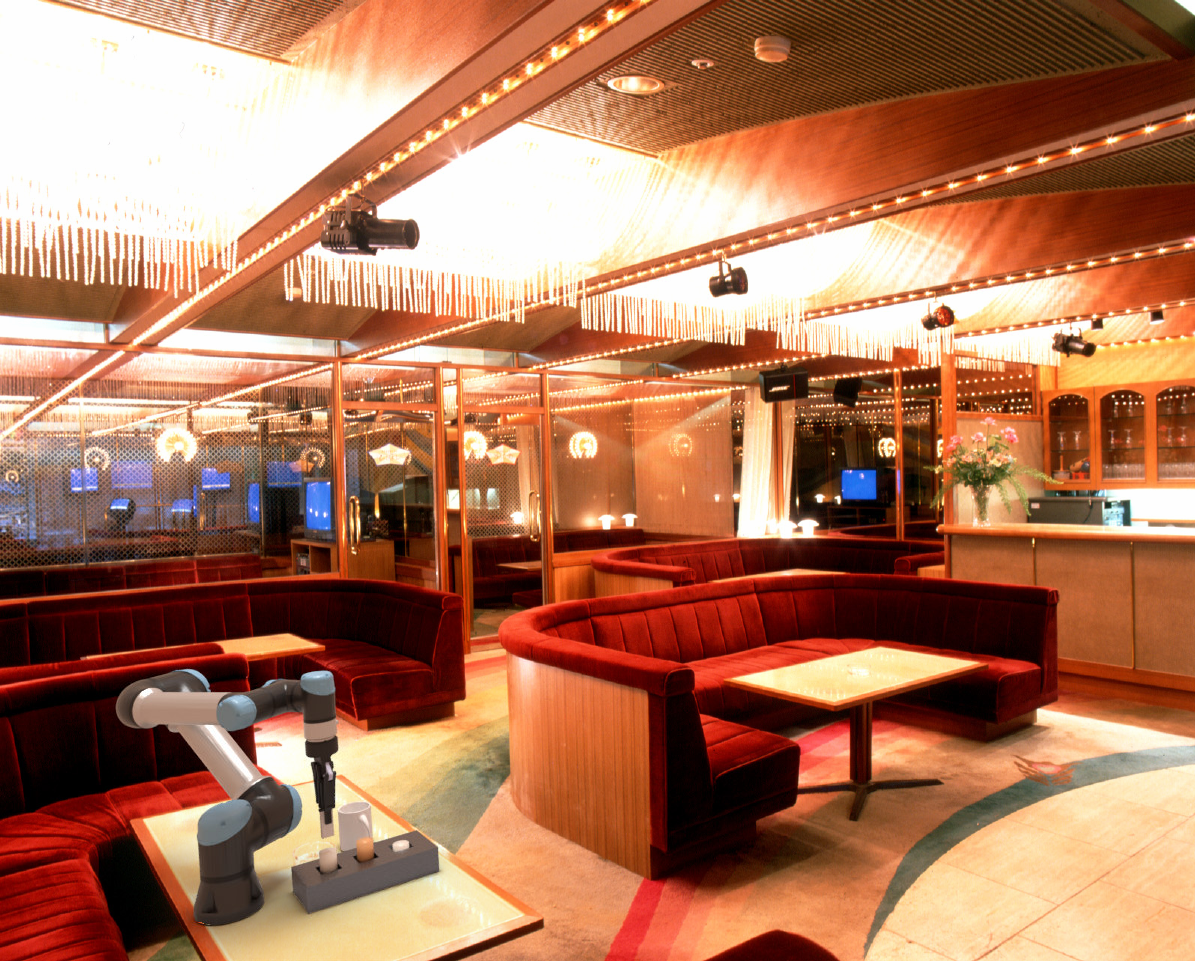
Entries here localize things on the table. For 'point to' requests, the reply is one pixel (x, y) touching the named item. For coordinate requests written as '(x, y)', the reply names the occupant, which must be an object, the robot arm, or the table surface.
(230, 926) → the table surface
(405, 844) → the cream rounded knob
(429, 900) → the table surface
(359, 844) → the knob mid
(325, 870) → the knob near
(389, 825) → the table surface
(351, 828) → the mug
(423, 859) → the panel
